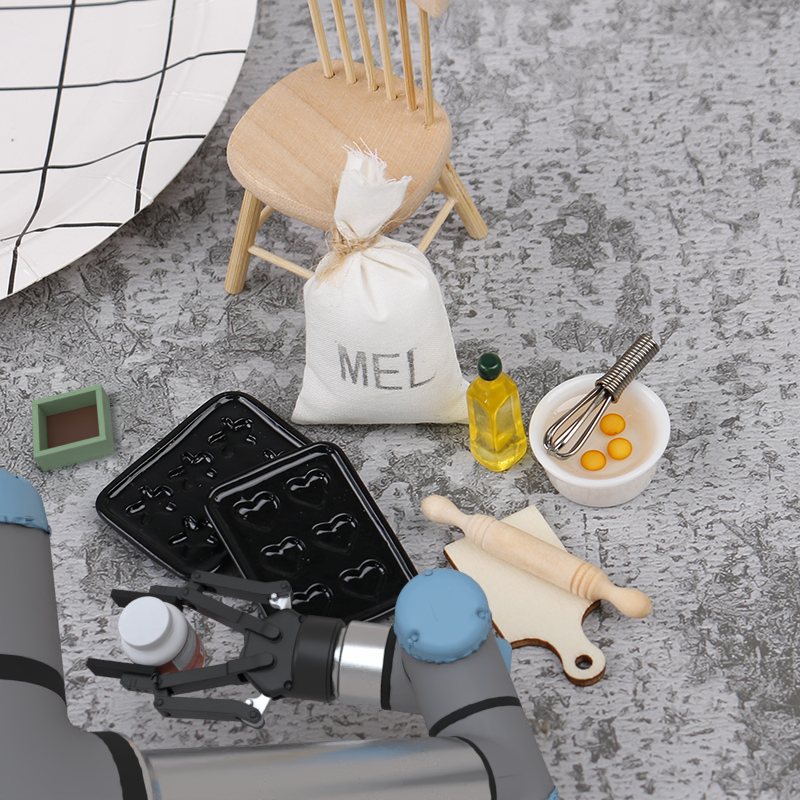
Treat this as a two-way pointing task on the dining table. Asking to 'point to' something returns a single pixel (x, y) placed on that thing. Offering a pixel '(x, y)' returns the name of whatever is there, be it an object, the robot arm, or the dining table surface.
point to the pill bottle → (159, 636)
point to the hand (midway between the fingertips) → (104, 631)
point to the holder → (72, 427)
